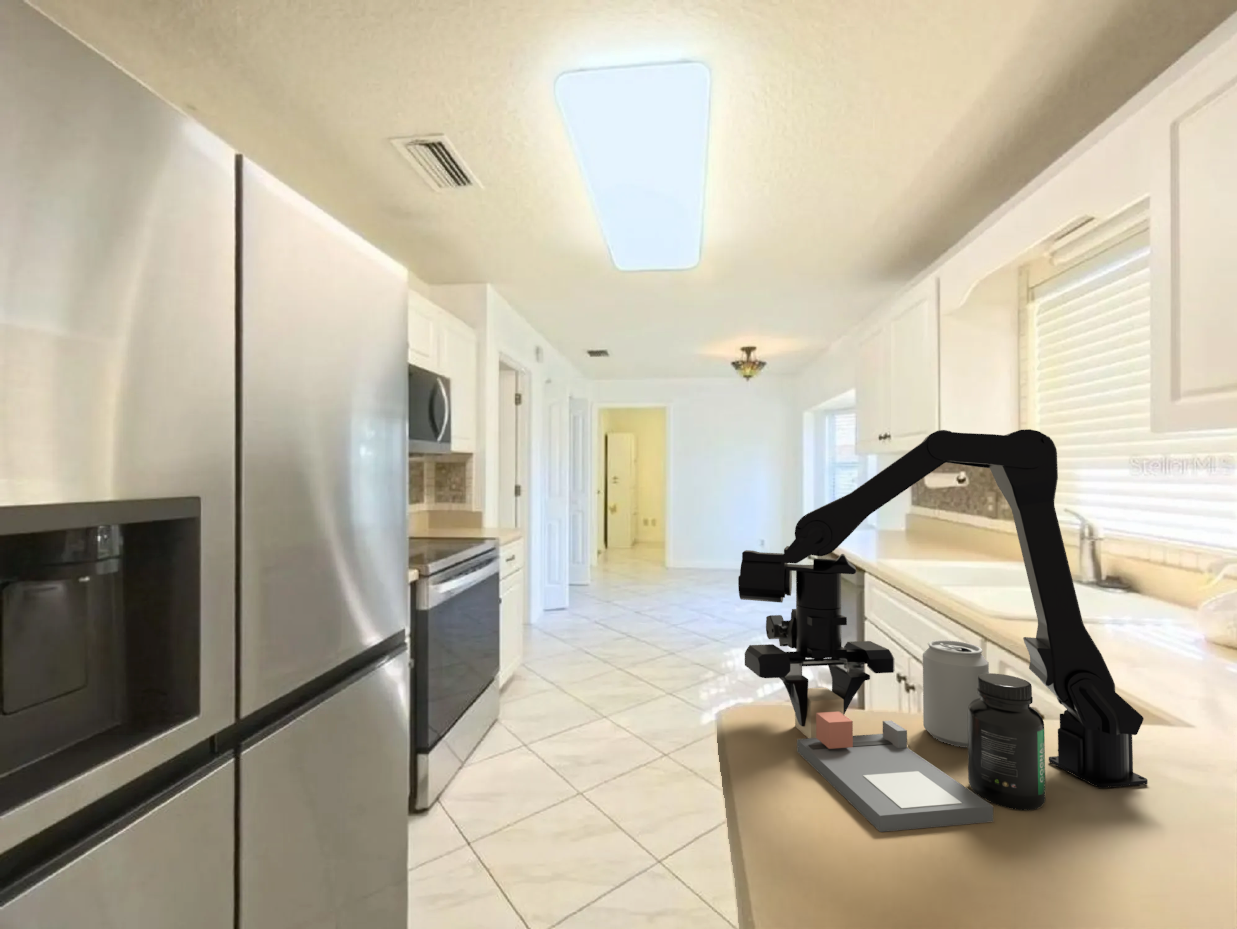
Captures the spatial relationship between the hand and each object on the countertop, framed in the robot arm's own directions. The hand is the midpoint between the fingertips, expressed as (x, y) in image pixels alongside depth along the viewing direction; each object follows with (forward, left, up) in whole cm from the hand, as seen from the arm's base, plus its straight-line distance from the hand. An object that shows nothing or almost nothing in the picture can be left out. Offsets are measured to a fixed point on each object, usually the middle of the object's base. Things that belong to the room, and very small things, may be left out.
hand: (818, 724), depth 78 cm
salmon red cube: (+2, +8, +1) cm, 8 cm away
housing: (0, 0, -1) cm, 1 cm away
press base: (0, +14, -1) cm, 14 cm away
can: (-17, +4, -1) cm, 18 cm away
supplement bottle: (-12, +18, -1) cm, 21 cm away
